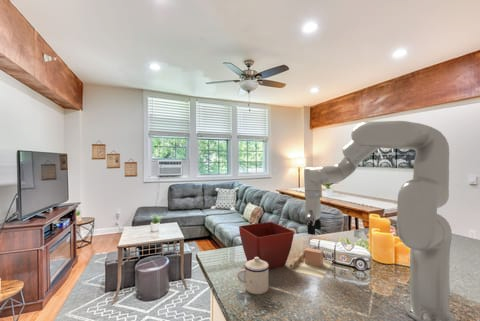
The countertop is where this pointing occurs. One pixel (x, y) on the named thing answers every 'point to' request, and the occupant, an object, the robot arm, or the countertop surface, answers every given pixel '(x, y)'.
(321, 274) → the cream flat slab
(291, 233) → the plant pot
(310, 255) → the rust block
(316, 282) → the countertop surface
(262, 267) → the teacup with lid
